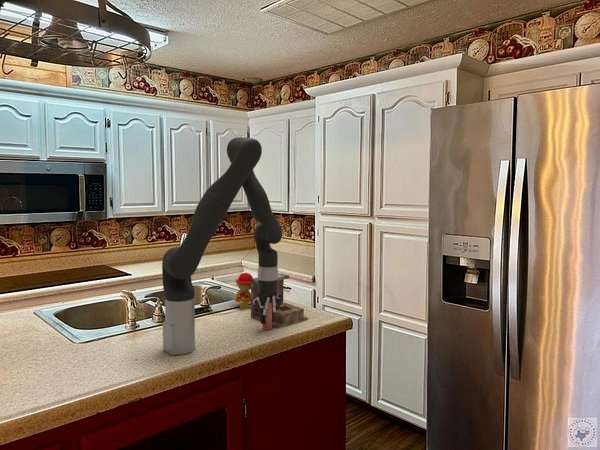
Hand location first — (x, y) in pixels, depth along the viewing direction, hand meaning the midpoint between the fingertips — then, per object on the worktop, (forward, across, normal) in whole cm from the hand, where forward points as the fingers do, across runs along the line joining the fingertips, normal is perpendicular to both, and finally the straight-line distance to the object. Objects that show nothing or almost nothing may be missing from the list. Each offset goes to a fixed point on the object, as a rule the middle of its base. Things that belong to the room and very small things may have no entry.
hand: (267, 322), depth 165 cm
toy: (+2, +10, +27) cm, 29 cm away
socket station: (+2, +11, +6) cm, 13 cm away
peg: (+2, 0, 0) cm, 2 cm away
